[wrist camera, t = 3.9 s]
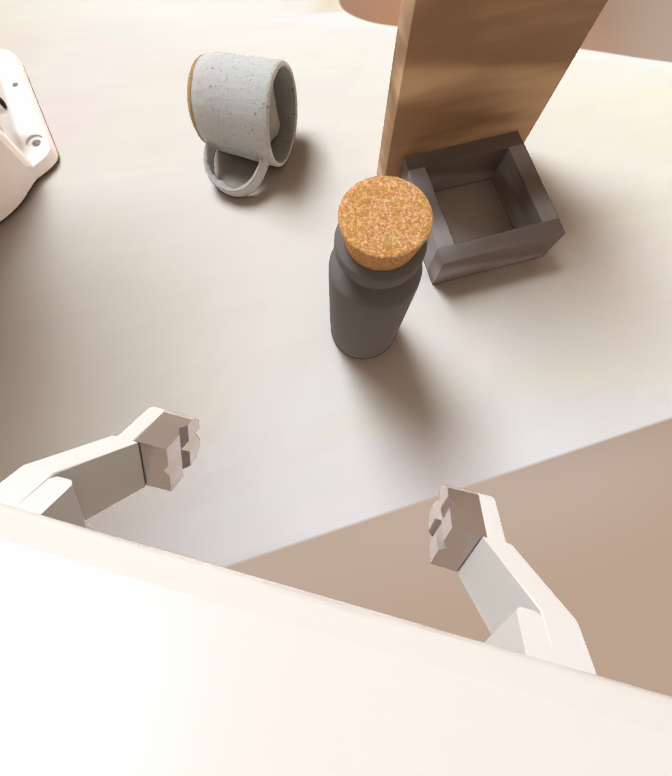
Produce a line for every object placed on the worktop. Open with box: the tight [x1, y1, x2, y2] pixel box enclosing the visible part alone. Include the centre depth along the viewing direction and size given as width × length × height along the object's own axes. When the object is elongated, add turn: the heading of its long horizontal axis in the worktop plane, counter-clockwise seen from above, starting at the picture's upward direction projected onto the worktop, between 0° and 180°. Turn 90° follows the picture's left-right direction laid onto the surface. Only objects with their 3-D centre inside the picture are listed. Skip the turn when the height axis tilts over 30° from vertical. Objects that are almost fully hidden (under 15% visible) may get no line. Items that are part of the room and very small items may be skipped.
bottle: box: [329, 176, 433, 359], centre depth 25 cm, size 6×6×15 cm
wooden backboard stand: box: [377, 0, 608, 284], centre depth 25 cm, size 13×14×20 cm
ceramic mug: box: [187, 52, 297, 197], centre depth 32 cm, size 11×8×8 cm
